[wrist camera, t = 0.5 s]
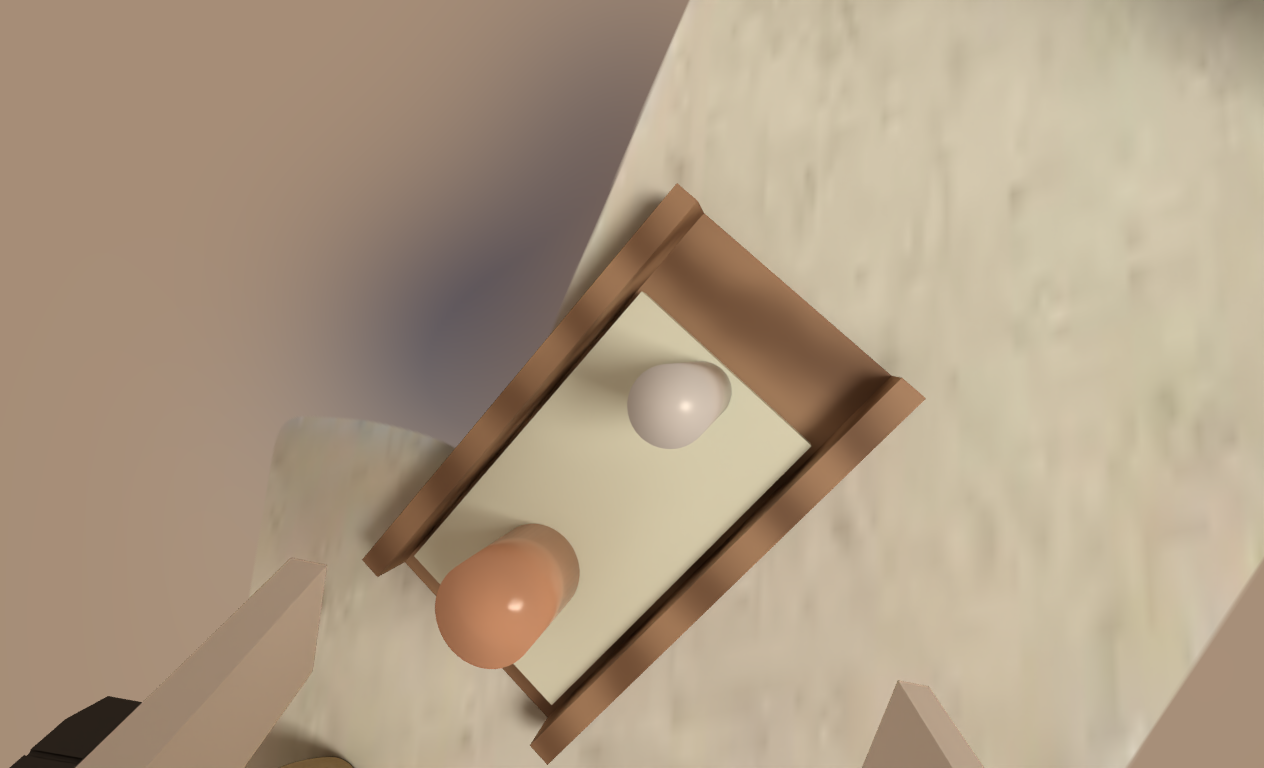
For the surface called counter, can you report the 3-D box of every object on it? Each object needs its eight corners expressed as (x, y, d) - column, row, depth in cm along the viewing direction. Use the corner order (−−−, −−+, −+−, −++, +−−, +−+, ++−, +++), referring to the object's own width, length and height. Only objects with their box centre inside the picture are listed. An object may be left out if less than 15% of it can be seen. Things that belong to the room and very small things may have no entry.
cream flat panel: (645, 293, 37) (584, 264, 26) (810, 442, 35) (826, 487, 24) (424, 550, 42) (285, 627, 30) (558, 695, 40) (466, 837, 28)
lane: (687, 200, 38) (676, 183, 34) (909, 393, 35) (925, 398, 31) (398, 541, 44) (362, 559, 40) (569, 726, 41) (547, 764, 38)
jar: (587, 536, 38) (545, 576, 31) (570, 625, 38) (526, 683, 32) (502, 513, 39) (444, 547, 32) (487, 599, 40) (427, 649, 33)
